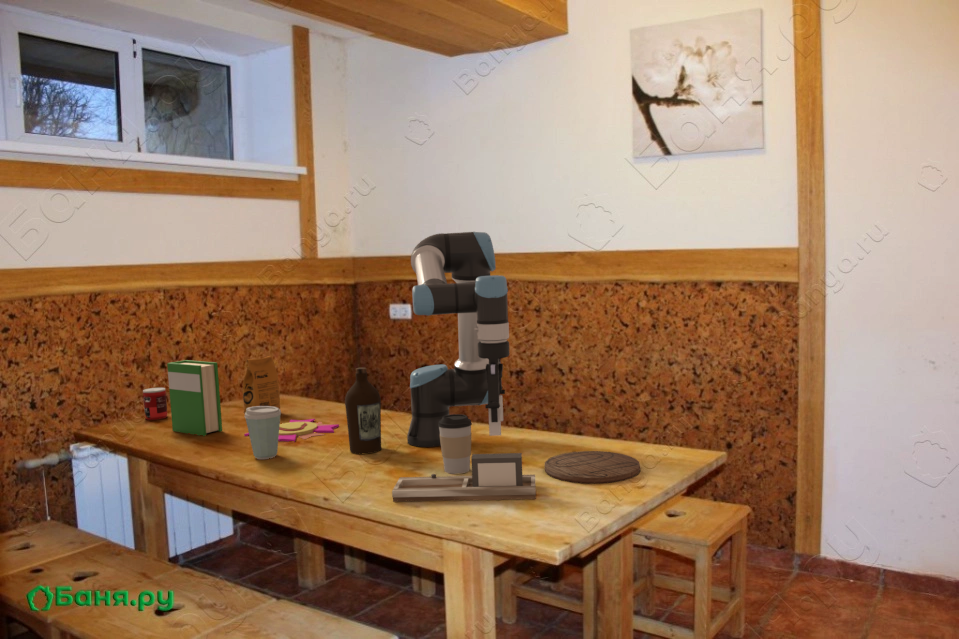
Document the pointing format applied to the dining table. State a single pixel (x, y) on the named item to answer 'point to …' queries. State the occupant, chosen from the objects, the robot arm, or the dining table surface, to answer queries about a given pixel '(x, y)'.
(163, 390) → the canned food
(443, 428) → the coffee cup
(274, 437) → the disposable coffee cup
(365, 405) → the olive oil
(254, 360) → the coffee package
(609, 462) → the trivet
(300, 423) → the wall ornament
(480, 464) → the picture frame
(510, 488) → the wooden compartment tray
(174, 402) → the hardback book
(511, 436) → the dining table surface
